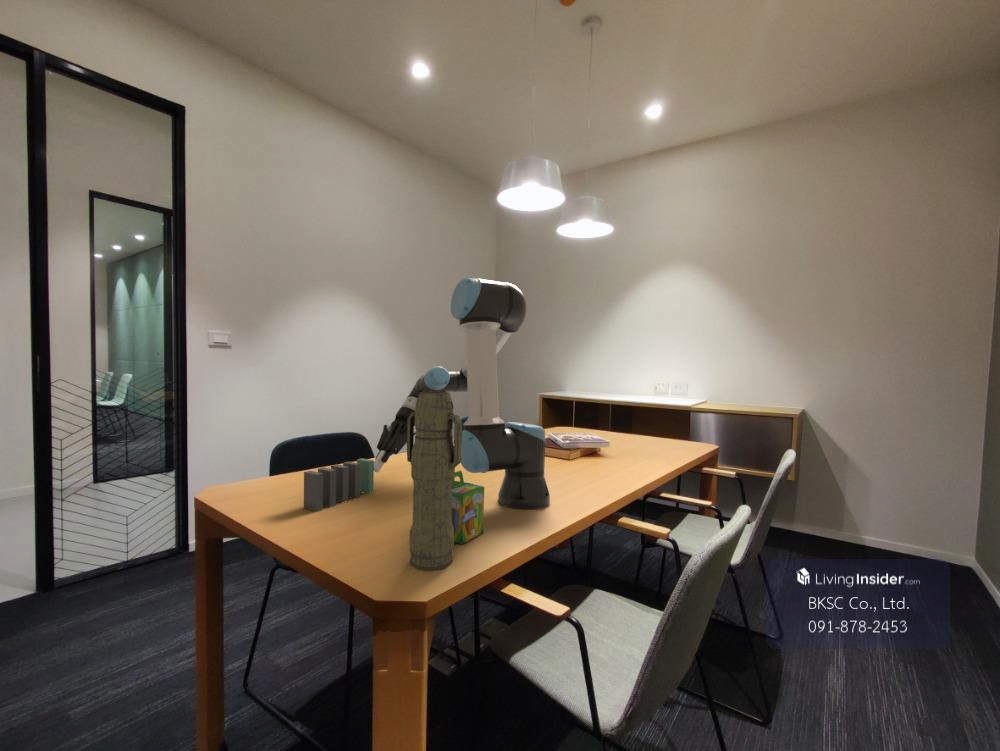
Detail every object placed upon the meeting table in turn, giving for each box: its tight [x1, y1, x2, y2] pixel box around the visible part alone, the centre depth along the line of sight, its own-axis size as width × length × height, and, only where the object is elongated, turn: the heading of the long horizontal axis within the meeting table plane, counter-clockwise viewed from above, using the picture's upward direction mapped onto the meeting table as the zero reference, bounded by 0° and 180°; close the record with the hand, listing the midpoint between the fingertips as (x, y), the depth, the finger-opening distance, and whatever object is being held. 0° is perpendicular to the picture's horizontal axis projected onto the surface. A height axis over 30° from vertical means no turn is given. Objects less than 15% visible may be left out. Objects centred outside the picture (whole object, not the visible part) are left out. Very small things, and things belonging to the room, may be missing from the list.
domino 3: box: [330, 464, 349, 503], centre depth 129 cm, size 2×5×10 cm, turn 62°
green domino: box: [356, 457, 375, 495], centre depth 138 cm, size 2×5×10 cm, turn 62°
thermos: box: [406, 390, 463, 572], centre depth 91 cm, size 9×12×35 cm
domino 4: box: [342, 461, 361, 499], centre depth 133 cm, size 2×5×10 cm, turn 62°
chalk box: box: [452, 470, 485, 545], centre depth 106 cm, size 9×9×15 cm
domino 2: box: [317, 467, 337, 508], centre depth 125 cm, size 2×5×10 cm, turn 62°
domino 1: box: [303, 470, 323, 513], centre depth 121 cm, size 2×5×10 cm, turn 61°
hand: (374, 469), depth 142 cm, fingers closed
